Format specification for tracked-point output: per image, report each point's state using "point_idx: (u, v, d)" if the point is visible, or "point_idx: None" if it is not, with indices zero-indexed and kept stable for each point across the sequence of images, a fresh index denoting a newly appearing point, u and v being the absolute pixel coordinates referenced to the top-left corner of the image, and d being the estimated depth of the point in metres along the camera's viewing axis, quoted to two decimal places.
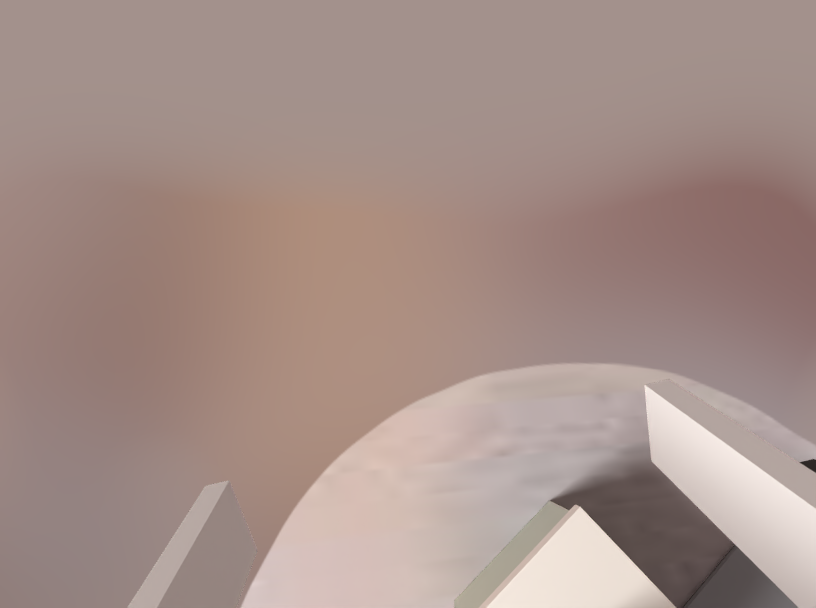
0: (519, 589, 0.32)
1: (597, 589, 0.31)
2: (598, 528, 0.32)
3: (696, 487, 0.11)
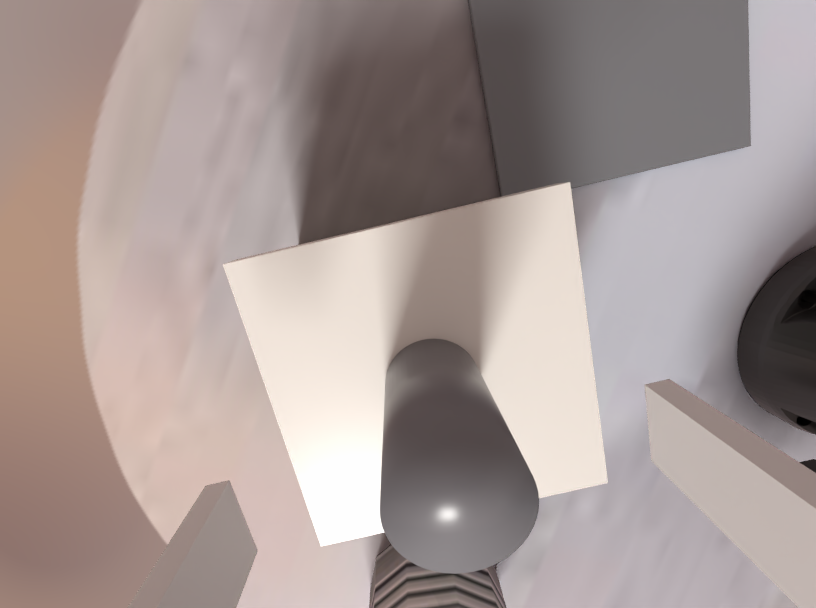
0: (295, 422, 0.19)
1: (348, 315, 0.18)
2: (268, 257, 0.17)
3: (696, 487, 0.11)
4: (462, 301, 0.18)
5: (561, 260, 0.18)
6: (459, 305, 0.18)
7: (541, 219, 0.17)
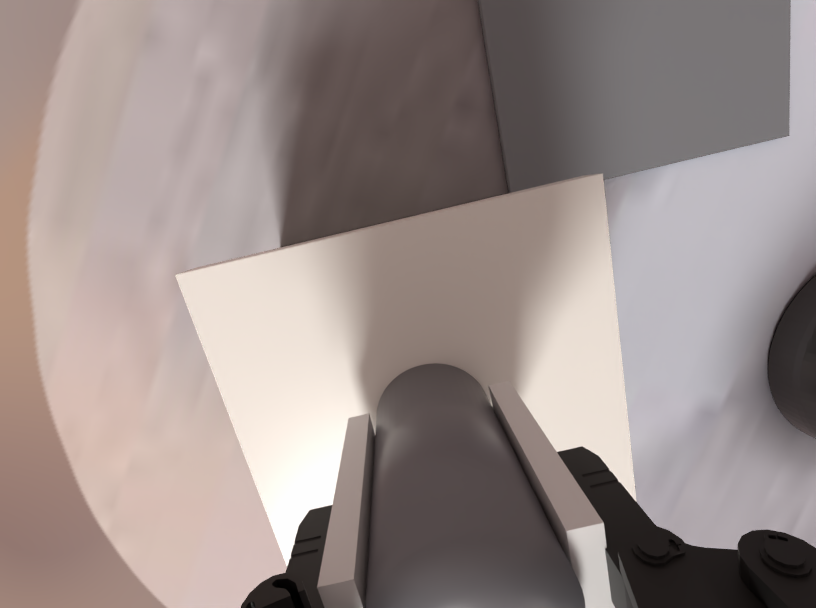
0: (268, 463, 0.16)
1: (331, 336, 0.15)
2: (231, 265, 0.14)
3: None
4: (469, 318, 0.15)
5: (590, 269, 0.15)
6: (466, 323, 0.15)
7: (566, 218, 0.14)
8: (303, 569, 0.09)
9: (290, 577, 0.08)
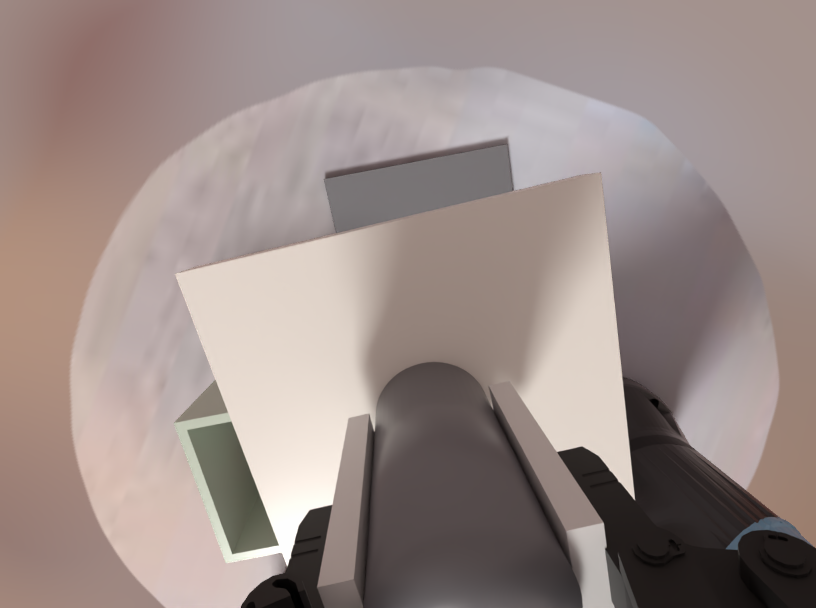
0: (268, 461, 0.16)
1: (330, 335, 0.15)
2: (231, 264, 0.14)
3: None
4: (468, 317, 0.15)
5: (588, 268, 0.15)
6: (465, 322, 0.15)
7: (564, 217, 0.14)
8: (303, 569, 0.09)
9: (290, 576, 0.08)
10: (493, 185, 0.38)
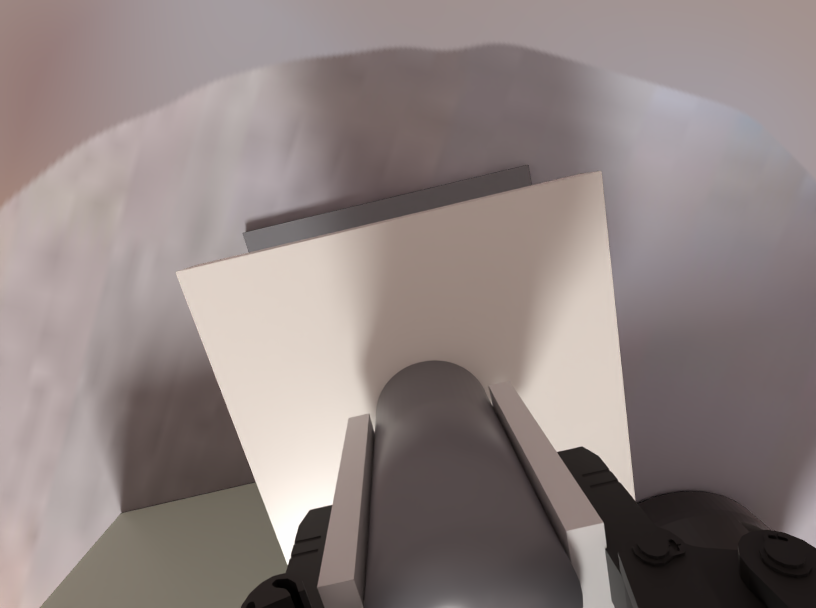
0: (268, 459, 0.16)
1: (330, 333, 0.15)
2: (231, 263, 0.14)
3: None
4: (469, 316, 0.15)
5: (589, 266, 0.15)
6: (465, 320, 0.15)
7: (565, 216, 0.14)
8: (303, 569, 0.09)
9: (290, 577, 0.08)
10: None
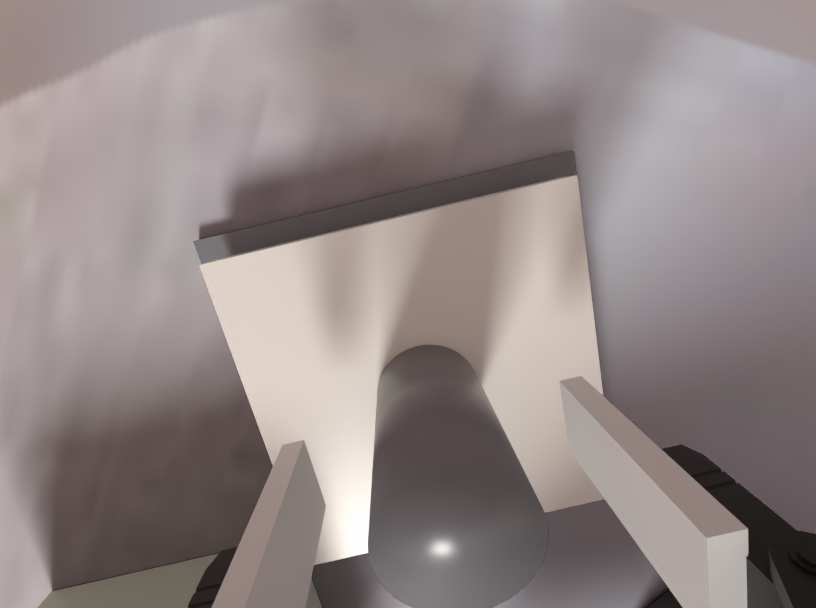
0: (280, 435, 0.18)
1: (336, 320, 0.17)
2: (249, 257, 0.16)
3: (595, 471, 0.12)
4: (460, 304, 0.17)
5: (567, 260, 0.16)
6: (457, 309, 0.17)
7: (545, 215, 0.16)
8: None
9: None
10: None
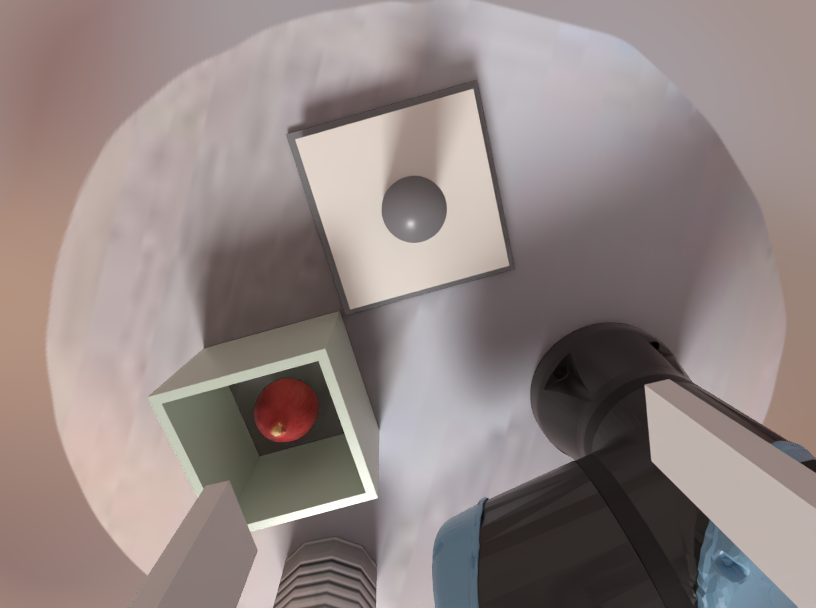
0: (334, 231, 0.35)
1: (361, 166, 0.34)
2: (318, 134, 0.33)
3: (696, 487, 0.11)
4: (421, 157, 0.34)
5: (472, 132, 0.34)
6: (420, 159, 0.34)
7: (459, 109, 0.33)
8: None
9: None
10: None
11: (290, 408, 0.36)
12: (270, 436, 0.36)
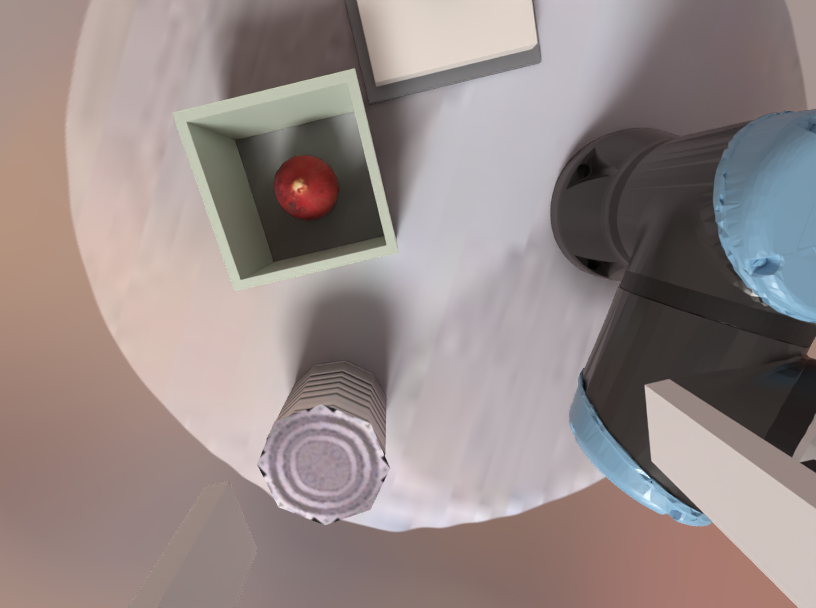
0: None
1: None
2: None
3: (696, 487, 0.11)
4: None
5: None
6: None
7: None
8: None
9: None
10: None
11: (312, 170, 0.35)
12: (290, 196, 0.35)
